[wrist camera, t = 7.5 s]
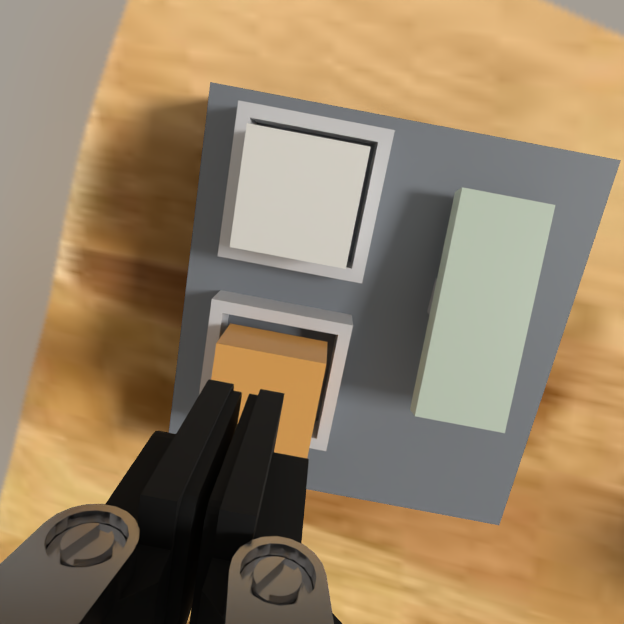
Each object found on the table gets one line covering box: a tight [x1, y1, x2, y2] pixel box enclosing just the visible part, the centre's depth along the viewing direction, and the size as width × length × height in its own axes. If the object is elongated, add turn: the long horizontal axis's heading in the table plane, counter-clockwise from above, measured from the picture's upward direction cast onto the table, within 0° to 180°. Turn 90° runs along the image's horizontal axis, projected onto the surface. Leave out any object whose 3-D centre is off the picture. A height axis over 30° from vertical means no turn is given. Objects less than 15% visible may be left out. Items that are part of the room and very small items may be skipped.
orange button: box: [211, 323, 328, 458], centre depth 16 cm, size 3×3×2 cm
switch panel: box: [169, 82, 621, 525], centre depth 18 cm, size 14×13×4 cm
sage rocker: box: [410, 187, 555, 433], centre depth 15 cm, size 7×3×1 cm, turn 170°
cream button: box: [230, 123, 371, 269], centre depth 14 cm, size 3×3×2 cm
